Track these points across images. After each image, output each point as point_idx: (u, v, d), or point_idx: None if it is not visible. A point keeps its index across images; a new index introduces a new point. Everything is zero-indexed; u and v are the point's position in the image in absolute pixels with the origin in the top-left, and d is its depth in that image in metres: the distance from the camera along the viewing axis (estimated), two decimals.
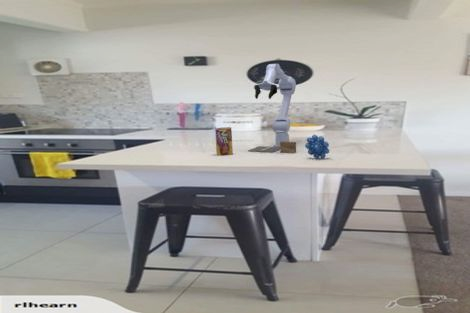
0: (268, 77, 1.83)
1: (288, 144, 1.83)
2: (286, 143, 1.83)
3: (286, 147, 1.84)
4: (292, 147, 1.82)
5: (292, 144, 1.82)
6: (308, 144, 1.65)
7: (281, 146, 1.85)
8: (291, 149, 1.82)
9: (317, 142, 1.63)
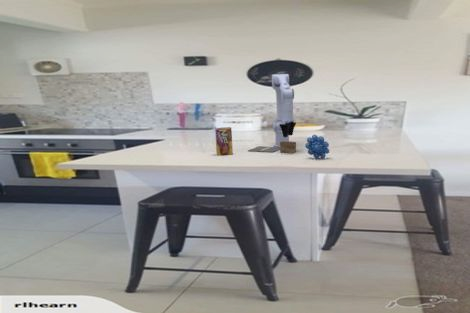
0: (292, 113, 1.81)
1: (288, 144, 1.83)
2: (286, 143, 1.83)
3: (286, 147, 1.84)
4: (292, 147, 1.82)
5: (292, 144, 1.82)
6: (308, 144, 1.65)
7: (281, 146, 1.85)
8: (291, 149, 1.82)
9: (317, 142, 1.63)
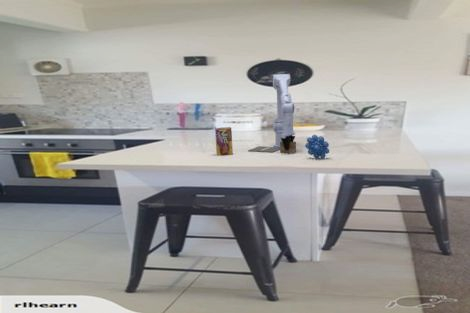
0: None
1: None
2: None
3: None
4: (292, 147, 1.82)
5: (292, 144, 1.82)
6: (308, 144, 1.65)
7: (281, 146, 1.85)
8: (291, 149, 1.82)
9: (317, 142, 1.63)
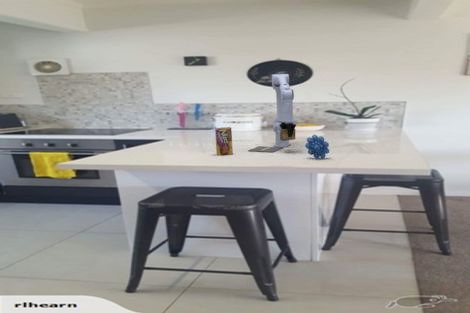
0: None
1: None
2: None
3: None
4: (294, 133, 1.84)
5: (294, 130, 1.84)
6: (308, 144, 1.65)
7: (285, 133, 1.81)
8: (293, 135, 1.84)
9: (317, 142, 1.63)
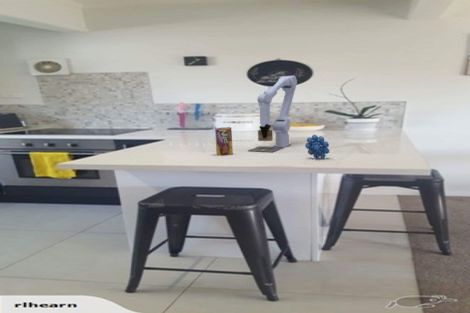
0: (269, 115, 1.94)
1: None
2: None
3: None
4: (270, 135, 1.94)
5: (270, 132, 1.93)
6: (308, 144, 1.65)
7: (259, 134, 1.95)
8: (269, 136, 1.94)
9: (317, 142, 1.63)
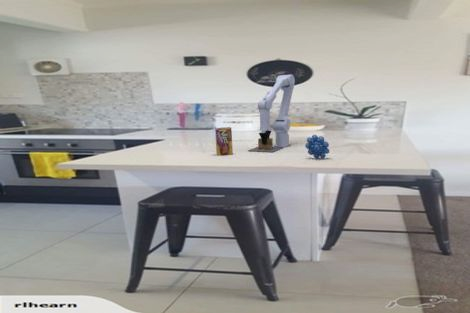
0: (269, 122, 1.95)
1: None
2: None
3: None
4: (270, 143, 1.95)
5: (270, 140, 1.94)
6: (308, 144, 1.65)
7: (259, 142, 1.96)
8: (269, 145, 1.95)
9: (317, 142, 1.63)
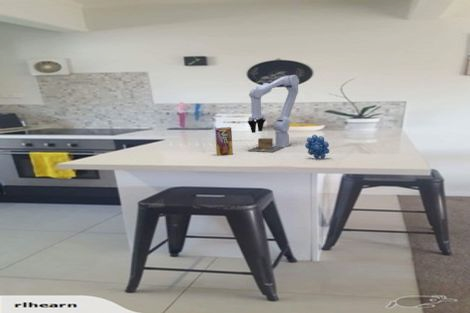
0: (260, 110, 1.96)
1: (266, 140, 1.95)
2: (264, 140, 1.95)
3: (264, 143, 1.96)
4: (270, 143, 1.95)
5: (270, 140, 1.94)
6: (308, 144, 1.65)
7: (259, 142, 1.96)
8: (269, 145, 1.95)
9: (317, 142, 1.63)
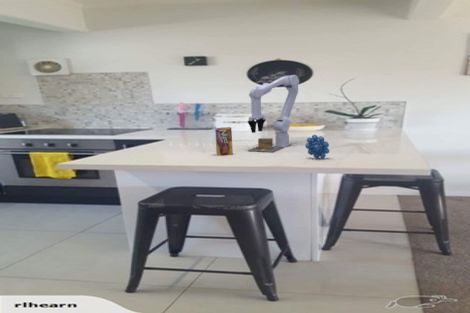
0: (260, 110, 1.96)
1: (266, 140, 1.95)
2: (264, 140, 1.95)
3: (264, 143, 1.96)
4: (270, 143, 1.95)
5: (270, 140, 1.94)
6: (308, 144, 1.65)
7: (259, 142, 1.96)
8: (269, 145, 1.95)
9: (317, 142, 1.63)
